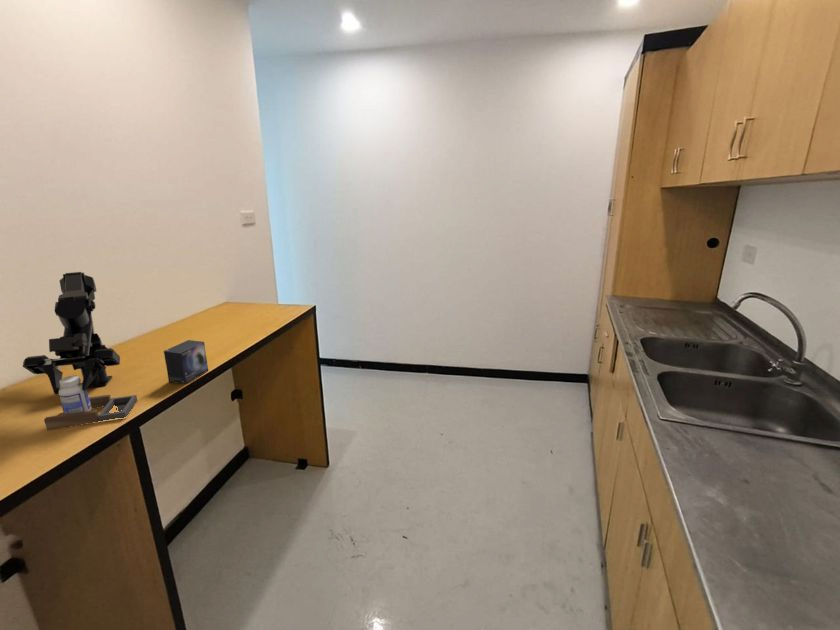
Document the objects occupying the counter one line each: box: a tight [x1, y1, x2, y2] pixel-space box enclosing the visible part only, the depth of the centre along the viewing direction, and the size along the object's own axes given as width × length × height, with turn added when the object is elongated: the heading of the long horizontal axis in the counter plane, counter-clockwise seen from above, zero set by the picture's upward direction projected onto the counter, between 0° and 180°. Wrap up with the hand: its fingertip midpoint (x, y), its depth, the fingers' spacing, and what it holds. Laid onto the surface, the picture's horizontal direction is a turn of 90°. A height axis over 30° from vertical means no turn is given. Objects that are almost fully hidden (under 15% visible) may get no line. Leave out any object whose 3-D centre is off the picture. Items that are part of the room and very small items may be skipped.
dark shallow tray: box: [98, 394, 138, 421], centre depth 108 cm, size 10×6×2 cm, turn 20°
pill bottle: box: [58, 375, 92, 415], centre depth 103 cm, size 5×5×10 cm
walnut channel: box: [43, 394, 111, 431], centre depth 105 cm, size 10×10×3 cm
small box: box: [163, 339, 209, 384], centre depth 127 cm, size 11×6×10 cm, turn 168°
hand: (70, 392), depth 102 cm, fingers closed on pill bottle, 5 cm apart
